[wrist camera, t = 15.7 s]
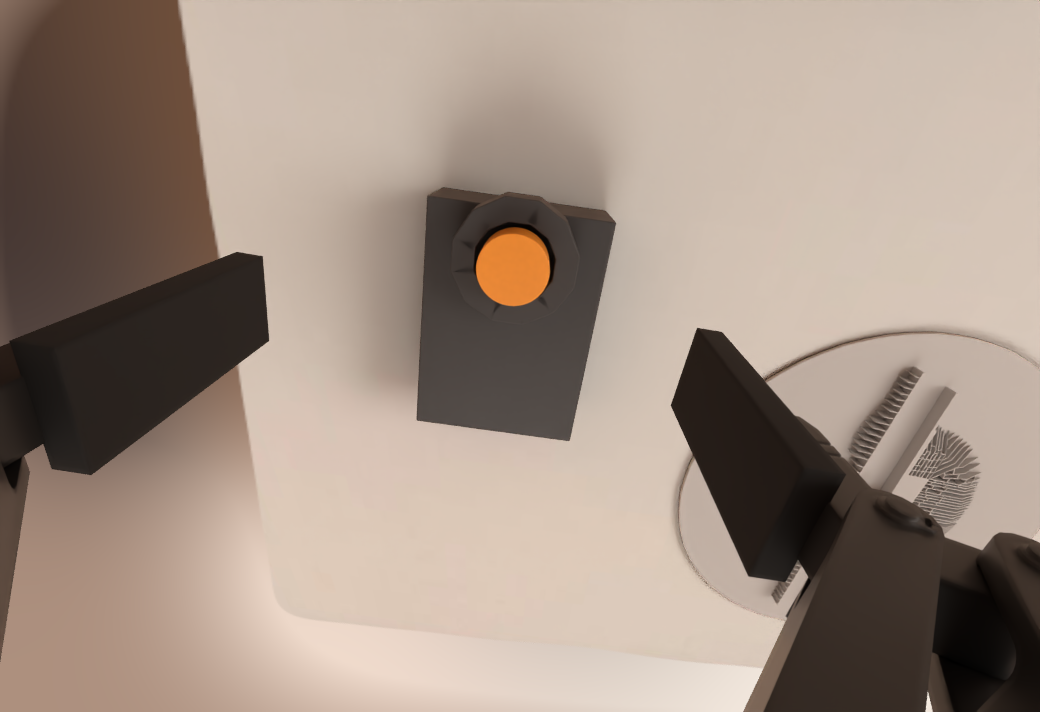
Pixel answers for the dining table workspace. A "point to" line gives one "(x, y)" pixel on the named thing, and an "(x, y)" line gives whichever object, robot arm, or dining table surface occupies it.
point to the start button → (513, 266)
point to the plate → (899, 445)
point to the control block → (507, 316)
